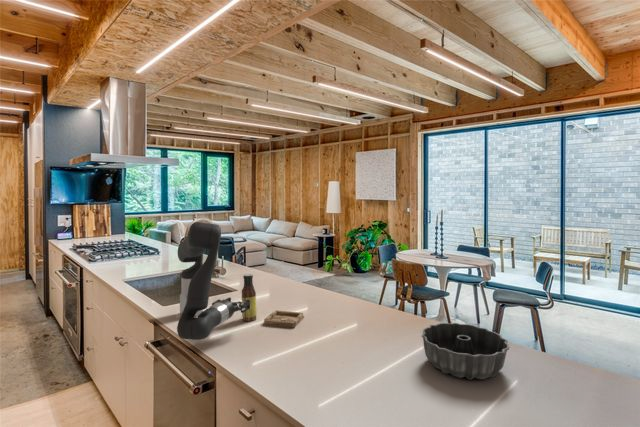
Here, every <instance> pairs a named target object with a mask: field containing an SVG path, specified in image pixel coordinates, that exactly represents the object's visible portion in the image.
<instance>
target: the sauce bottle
mask: <svg viewBox="0 0 640 427" xmlns="http://www.w3.org/2000/svg"><path fill="white" fill-rule="evenodd" d="M253 275H254V274H252V273H246V274H244V275H242V276H243V288H242V289H241V302H244V301H245V300H247V299H249V300H250V309H249V310H247V311H245V312H243V313H242V321H245V322H252V321H255V320H257V293H256V289H255V286H254V283H253V282H254V281H253V278H254V276H253ZM242 305H244V304H242Z"/></svg>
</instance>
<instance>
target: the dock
mask: <svg viewBox="0 0 640 427" xmlns="http://www.w3.org/2000/svg"><path fill="white" fill-rule="evenodd" d="M304 318H305V315H304V312H296V311H287V310H275V311H272V312H271V313H270V314H269V315H268V316H266V317H265V318H264V319H263V324H262V325H263V326H269V327H270V326H271V327H279V328H287V329H290V328H291V329H295V328H296V327H297V326H298V325H299V324H300V323H301V322H302V320H304Z"/></svg>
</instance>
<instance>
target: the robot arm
mask: <svg viewBox="0 0 640 427" xmlns="http://www.w3.org/2000/svg"><path fill="white" fill-rule="evenodd" d="M221 237H222V229H221V226H220V225H219V224H215V223H210V222H209V223H208V222H202V221H201V222H200V221H195V222H192V224H190V226H189V229H188V231H187V235H186V236H185V238H184V239H183V241H182V242H180V243H179V244H178V248H177V257H178V260H179V261H180V262H181V263H193V265H191V266H189V267H188V268H185V269H183V270H181V274H180V275H181V277H180V278H181V280H180V281H181V285H180V286H181V293H179V315H180V317H179V319H178V322H177V327H176V332H177V336H178V337H179V338H180V339H183V340H195V341H196V340H197V341H202V340H204V339H206V338H208V337H209V336H210V334H211V333H212V331H213V330H214V329H215V328H217V326H219V325H221V324H224V323H225V322H226V321H228V320H229V319H231V318H232V317H233V315H234V314H235V312H240V313H243V312H245V311H247V310H249V309H250V300H249V299H247V300H245V301H244V302H242V301H241V300H238V301H232V297H227V298H223V299H216V300H214V301H213V302H212V303H211V306H209V307H208V305H209V299H210V298H209V297H210V289H211V282H212V279H213V278H212V277H213V274H214V270H215V268H216V267H215V266H216V262H217V257H218V253H219V248H220V245H221ZM206 250H208V254H207V256H206V259H205V260H204V253H205V252H206ZM203 260H204V261H203ZM242 304H244V305H242Z"/></svg>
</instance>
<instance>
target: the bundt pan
mask: <svg viewBox="0 0 640 427" xmlns="http://www.w3.org/2000/svg"><path fill="white" fill-rule="evenodd" d="M421 337H422V340H423V348H424V354H425V356H426V358H427V360H428V361H429V362H430V363H431V364H432V366H433V367H435V368H437V369H438V370H441V372H442V373H443V374H446V375H448V374H451V375H452V376H453V377H455V378H464V377H465V378H466V379H467V380H469V381H471V380H473V379H476V380H477V379H478V380H484V379H487V378H493V377H496V376H497V375H498V374H499V372H500V371H501V370H502V369H503V367H504V364H505V360H506V358H507V352H508V351H509V350H510V344H509V343H508V339H505V338H503V336H502V335H501V334H500V333H497V332H495V331H492V330H489V329H488V328H485V327H479V326H476V325H473V324H467V323H459V322H458V323H457V322H452V323H450V322H449V323H448V322H441V323H436V324H430V325H428V327H425V328H423V329H422V334H421Z"/></svg>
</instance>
